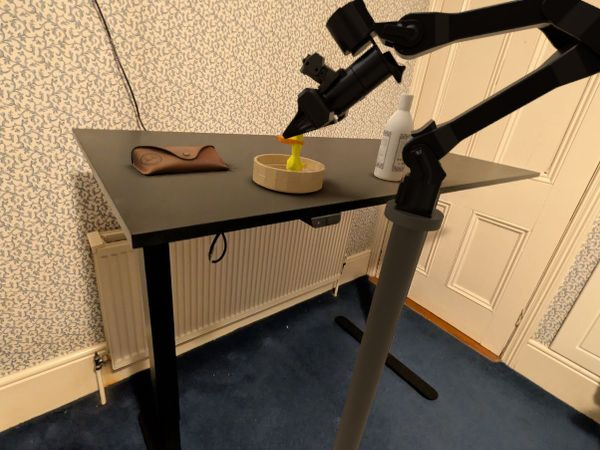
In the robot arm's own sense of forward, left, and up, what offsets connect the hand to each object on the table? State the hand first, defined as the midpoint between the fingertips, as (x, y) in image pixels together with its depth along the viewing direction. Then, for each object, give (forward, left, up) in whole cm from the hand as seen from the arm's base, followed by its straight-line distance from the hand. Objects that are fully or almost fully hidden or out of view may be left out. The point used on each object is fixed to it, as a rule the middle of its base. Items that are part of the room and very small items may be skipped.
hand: (291, 134), depth 62 cm
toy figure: (0, 0, -9) cm, 9 cm away
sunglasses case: (+20, +8, -10) cm, 24 cm away
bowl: (0, 0, -10) cm, 10 cm away
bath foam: (-15, -26, -10) cm, 32 cm away
